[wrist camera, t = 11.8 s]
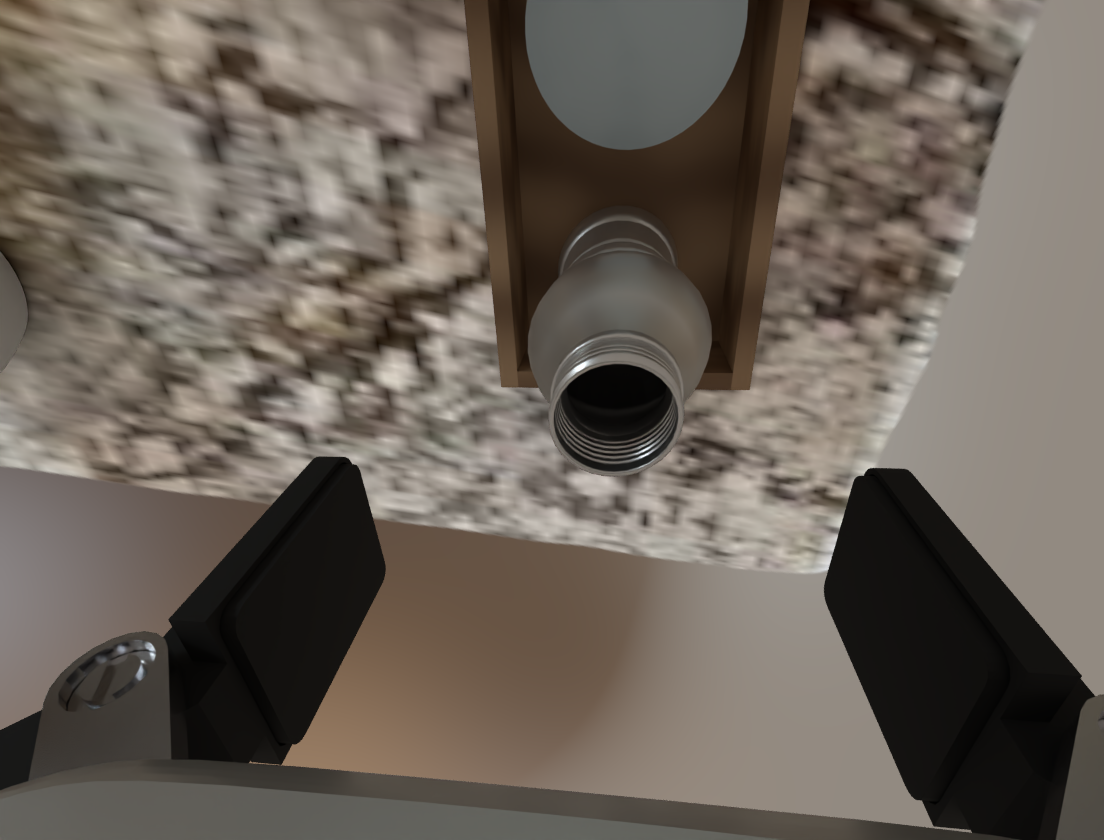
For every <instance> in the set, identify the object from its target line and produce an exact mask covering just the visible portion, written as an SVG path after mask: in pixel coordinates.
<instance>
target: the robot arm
mask: <svg viewBox="0 0 1104 840" xmlns="http://www.w3.org/2000/svg"><path fill="white" fill-rule="evenodd" d="M385 570H386V568H385V561H384V558H383V554H382V550H381V546H380V543H379V539H378V535H377V532H376V528H375V524H374V521H373V517H372V513H371V510H370V506H369V502H368V499H367V495H366V491H365V487H364V484H363V480H362V476H361V473H360V470H359V468H358V466H357V465H354V464H352V463H351V461H350V460H349V459H348V458H346V457H316V458H314V459H313V460H312V461H311V462H310V463H309V464H308V466H307V467H306V468H305V469H304V470H303V471H302V472H301V473H300V474H299V476H298V477H297V478H296V479H295V480H294V481H293V482H292V483H291V484H290V486H289V487H288V488H287V489H286V490H285V491H284V492H283V493H282V494H281V495H280V497H279V498H278V499H277V500H276V501H275V502H274V503H273V504H272V505H271V507H270V508H269V509H268V510H267V511H266V512H265V513H264V514H263V515H262V517H261V518H260V519H259V520H258V521H257V522H256V523H255V524H254V525H253V527H252V528H251V529H250V530H249V531H248V532H247V533H246V534H245V535H244V536H243V538H242V539H241V540H240V541H239V542H238V543H237V544H236V545H235V546H234V548H233V549H232V550H231V551H230V552H229V553H228V554H227V555H226V556H225V558H224V559H223V560H222V561H221V562H220V563H219V564H218V565H217V566H216V568H215V569H214V570H213V571H212V572H211V573H210V574H209V575H208V576H207V578H205V580H204V581H203V582H202V583H201V584H200V585H199V586H198V587H197V588H196V590H195V591H194V592H193V593H192V594H191V595H190V596H189V597H188V598H187V600H186V601H185V602H184V603H183V604H182V605H181V607H179V608H178V610H177V611H176V612H175V613H174V614H173V615H172V616H171V617H170V618H169V622H170V623H171V625H172V628H171V629H170V630H169V631H168V632H167V633H166V634H165V636H164V637H161V636H160V635H159V634H157V633H152V632H146V631H143V632H135V633H128V634H125V635H122V636H119V637H116V638H113V639H111V640H108V641H106V642H105V643H103V644H101V645H98V646H96V647H94V648H93V649H91V650H90V651H88V652H87V653H85V654H84V655H82V656H81V657H79V658H78V659H76V660H75V661H74V662H73V663H72V664H71V665H70V666H68V668H66V669H65V670H64V671H63V672H62V673H61V674H60V675H59V677H58V678H57V679H56V680H55V682H54V683H53V684H52V685H51V687H50V688H49V691H48V693H47V695H46V698H45V700H44V703H43V708H42V710H41V711H39V712H37V713H35V714H32V715H31V716H28V717H26V718H24V719H22V720H20V721H18V722H16V723H14V724H12V725H10V726H8V727H6V728H4V729H2V730H0V840H1104V695H1098V696H1094V694H1093V693H1092V692H1091V691H1090V689H1089V688H1088V687H1087V686H1086V685H1085V684H1084V682H1083V681H1082V680H1081V679H1080V678H1081V677H1082V675H1081V674H1080V673H1079V672H1078V671H1077V670H1076V668H1075V667H1074V666H1073V665H1072V663H1071V662H1070V661H1069V660H1068V659H1067V658H1066V657H1065V655H1064V654H1063V653H1062V652H1061V650H1060V649H1059V648H1058V647H1057V646H1056V644H1055V643H1054V642H1053V641H1052V640H1051V638H1049V636H1048V635H1047V634H1046V633H1045V631H1044V630H1043V629H1042V628H1041V627H1040V625H1039V624H1038V623H1037V622H1036V621H1035V619H1034V618H1033V617H1032V616H1031V615H1030V613H1029V612H1028V611H1027V610H1026V609H1025V607H1024V606H1023V605H1022V604H1021V603H1020V602H1019V600H1018V599H1017V598H1016V597H1015V596H1014V594H1013V593H1012V592H1011V591H1010V590H1009V589H1008V587H1007V586H1006V585H1005V584H1004V582H1003V581H1002V580H1001V579H1000V578H999V577H998V576H997V574H996V573H995V572H994V571H993V569H992V568H991V567H990V566H989V565H988V563H987V562H986V561H985V560H984V559H983V558H982V556H981V555H980V554H979V553H978V552H977V550H976V549H975V548H974V547H973V546H972V544H971V543H970V542H969V541H968V540H967V539H966V537H965V536H964V535H963V534H962V533H961V531H960V530H959V529H958V528H957V527H956V525H955V524H954V523H953V522H952V521H951V519H950V518H949V517H948V516H947V515H946V513H945V512H944V511H943V510H942V509H941V507H940V506H939V505H938V504H937V503H936V502H935V500H934V499H933V498H932V497H931V496H930V494H929V493H928V492H927V491H926V490H925V488H924V487H923V486H922V485H921V484H920V483H919V481H918V480H917V479H916V478H915V477H914V475H913V474H912V473H911V472H909V470H906V469H891V468H888V469H887V468H870V469H868V470H867V471H866V472H865V474H864V476H858V477H856V478H855V480H854V482H853V485H852V489H851V492H850V496H849V499H848V503H847V506H846V510H845V513H844V517H843V520H842V524H841V527H840V531H839V534H838V538H837V542H836V545H835V549H834V552H833V556H832V559H831V563H830V566H829V570H828V573H827V577H826V580H825V585H824V596H825V601H826V604H827V606H828V609H829V611H830V614H831V616H832V618H833V620H834V623H835V625H836V627H837V629H838V632H839V634H840V637H841V639H842V641H843V643H844V645H845V648H846V650H847V653H848V655H849V657H850V660H851V662H852V664H853V666H854V669H855V671H856V673H857V676H858V678H859V680H860V682H861V685H862V687H863V690H864V692H865V694H866V696H867V699H868V701H869V703H870V706H871V708H872V710H873V712H874V715H875V717H876V719H877V722H878V724H879V726H880V728H881V731H882V733H883V736H884V738H885V740H886V742H887V745H888V747H889V749H890V752H891V754H892V756H893V759H894V761H895V763H896V766H897V768H898V770H899V772H900V775H901V777H902V779H903V782H904V784H905V786H906V788H907V790H908V792H909V793H910V794H911V796H912V797H913V798H914V799H916V800H922V802H923V804H924V806H925V808H926V811H927V813H928V815H929V817H930V819H931V821H932V824H933V826H937V827H946V828H957V829H967V830H971V831H972V833H969V832H959V831H952V830H943V829H934V828H926V827H917V826H909V825H900V824H891V823H883V822H874V821H866V820H858V819H847V818H837V817H827V816H817V815H806V814H797V813H787V812H777V811H766V810H757V809H747V808H737V807H727V806H717V805H707V804H697V803H687V802H677V801H667V800H656V799H646V798H635V797H624V796H614V795H604V794H593V793H582V792H572V791H561V790H550V789H539V788H528V787H518V786H508V785H497V784H486V783H476V782H465V781H454V780H441V779H432V778H420V777H409V776H397V775H386V774H375V773H363V772H352V771H341V770H330V769H319V768H307V767H296V766H281V764H282V763H283V761H284V759H285V757H286V755H287V753H288V751H289V750H290V748H291V746H292V744H297V743H299V742H300V741H301V740H302V739H303V737H304V735H305V734H306V732H307V730H308V728H309V726H310V724H311V722H312V720H313V718H314V716H315V714H316V712H317V710H318V708H319V706H320V704H321V702H322V700H323V698H324V697H325V695H326V692H327V691H328V689H329V686H330V685H331V683H332V681H333V679H334V677H335V675H336V673H337V671H338V669H339V667H340V665H341V663H342V661H343V659H344V657H345V655H346V653H347V651H348V649H349V648H350V645H351V644H352V642H353V640H354V638H355V636H356V634H357V632H358V630H359V628H360V626H361V624H362V622H363V620H364V618H365V616H366V614H367V612H368V610H369V608H370V606H371V604H372V602H373V600H374V598H375V597H376V595H377V593H378V591H379V589H380V587H381V585H382V583H383V580H384V577H385ZM250 760H251V762H258V763H268V764H279V765H266V764H252V763H249V762H250Z"/></svg>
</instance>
